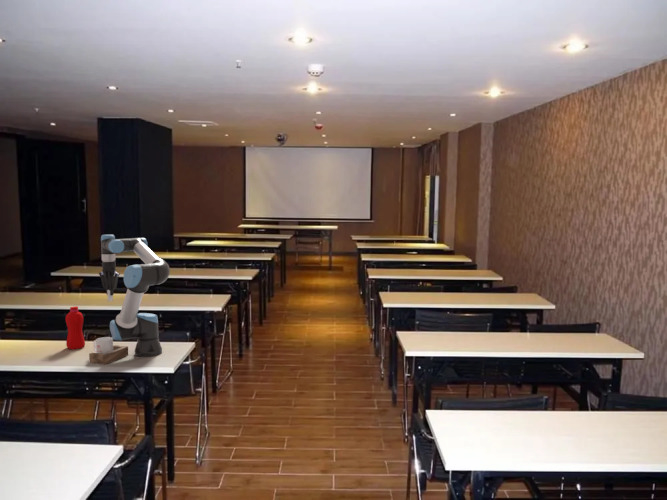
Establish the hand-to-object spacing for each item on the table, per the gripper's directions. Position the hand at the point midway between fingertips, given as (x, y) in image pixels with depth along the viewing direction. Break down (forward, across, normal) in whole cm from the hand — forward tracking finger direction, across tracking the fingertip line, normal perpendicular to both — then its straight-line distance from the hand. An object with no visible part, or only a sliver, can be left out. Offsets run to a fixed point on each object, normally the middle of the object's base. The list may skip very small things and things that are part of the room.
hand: (110, 300), depth 344 cm
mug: (+30, -6, +16) cm, 34 cm away
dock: (+29, -10, +16) cm, 35 cm away
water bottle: (+30, +24, +3) cm, 38 cm away
